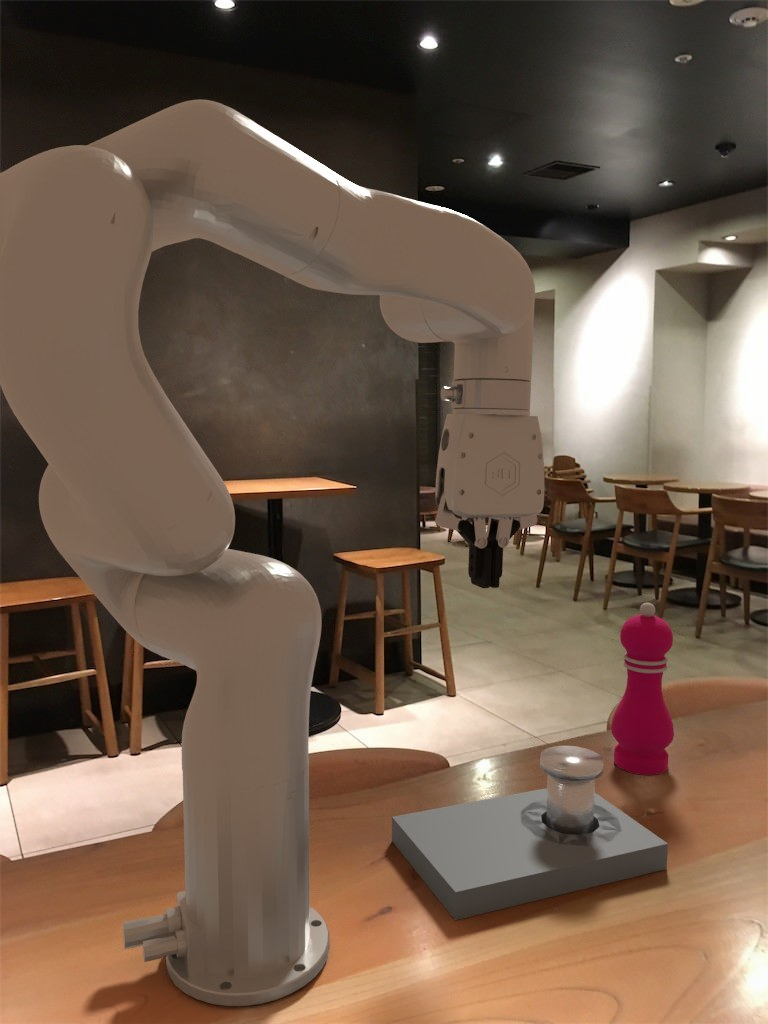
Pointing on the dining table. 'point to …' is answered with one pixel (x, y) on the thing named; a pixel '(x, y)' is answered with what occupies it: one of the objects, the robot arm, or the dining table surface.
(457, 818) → the plate
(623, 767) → the pepper mill
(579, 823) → the grey cylindrical piece
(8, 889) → the dining table surface
